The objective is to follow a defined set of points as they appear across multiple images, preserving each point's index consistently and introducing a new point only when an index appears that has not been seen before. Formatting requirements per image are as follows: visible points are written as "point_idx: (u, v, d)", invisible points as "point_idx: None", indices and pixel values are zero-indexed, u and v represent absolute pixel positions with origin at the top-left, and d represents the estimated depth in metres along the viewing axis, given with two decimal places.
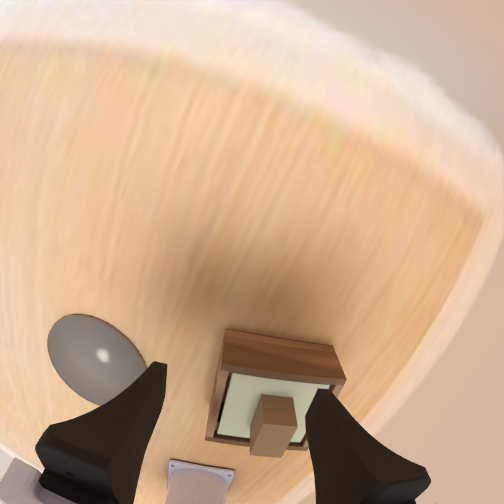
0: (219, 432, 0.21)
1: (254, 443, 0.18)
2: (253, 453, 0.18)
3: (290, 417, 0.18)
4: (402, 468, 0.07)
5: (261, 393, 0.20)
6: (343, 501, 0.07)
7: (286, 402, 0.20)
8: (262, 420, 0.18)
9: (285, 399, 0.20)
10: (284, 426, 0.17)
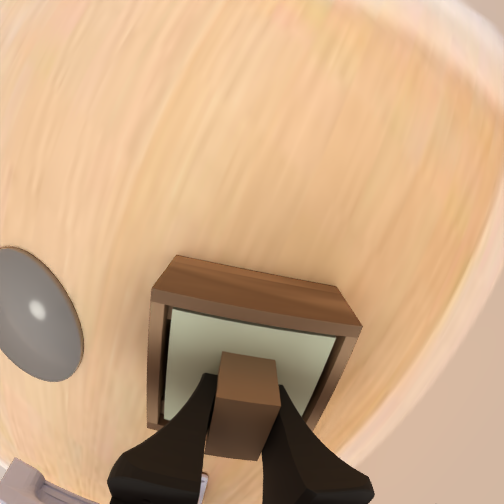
0: (166, 417, 0.14)
1: (208, 434, 0.11)
2: (210, 452, 0.11)
3: (268, 390, 0.11)
4: (340, 475, 0.07)
5: (222, 350, 0.13)
6: None
7: (263, 366, 0.12)
8: (217, 392, 0.10)
9: (262, 361, 0.13)
10: (255, 404, 0.10)
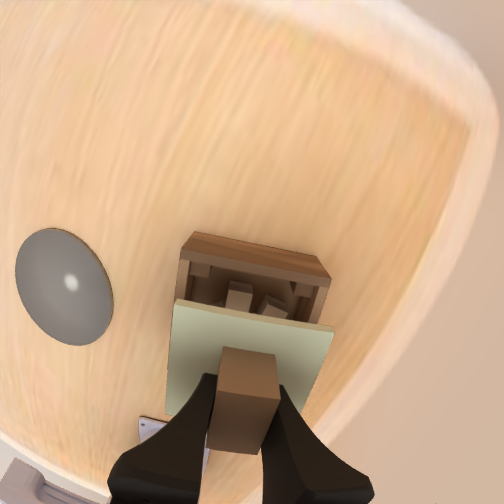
0: (167, 412, 0.14)
1: (209, 428, 0.11)
2: (210, 445, 0.11)
3: (268, 383, 0.11)
4: (340, 475, 0.07)
5: (223, 345, 0.13)
6: None
7: (263, 360, 0.13)
8: (218, 385, 0.11)
9: (262, 356, 0.13)
10: (255, 397, 0.10)
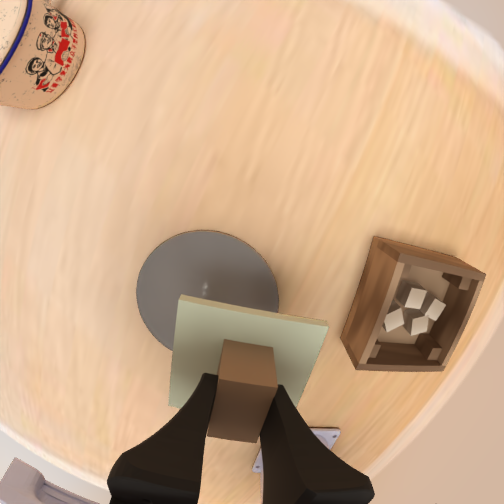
0: (171, 403, 0.15)
1: (211, 416, 0.12)
2: (212, 433, 0.12)
3: (266, 373, 0.12)
4: (340, 475, 0.07)
5: (224, 338, 0.14)
6: None
7: (262, 352, 0.14)
8: (219, 374, 0.12)
9: (260, 348, 0.14)
10: (254, 385, 0.11)
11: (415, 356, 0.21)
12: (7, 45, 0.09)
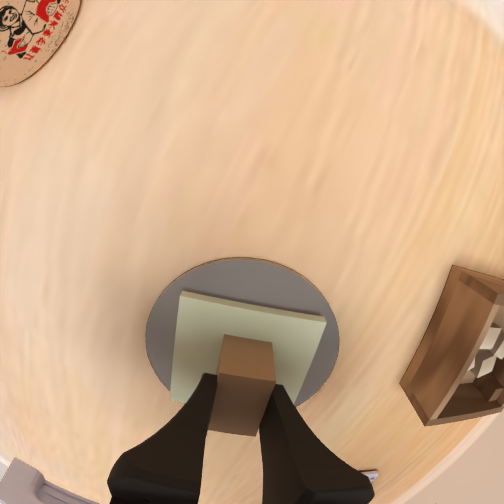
0: (172, 398, 0.16)
1: None
2: (212, 427, 0.13)
3: (265, 367, 0.12)
4: (340, 475, 0.07)
5: (224, 333, 0.14)
6: None
7: (261, 347, 0.14)
8: (219, 368, 0.12)
9: (260, 343, 0.14)
10: (253, 379, 0.12)
11: (477, 399, 0.15)
12: None
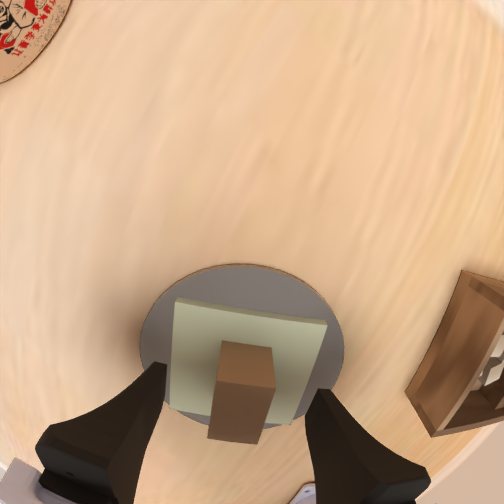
0: (171, 406, 0.15)
1: None
2: (212, 435, 0.12)
3: (264, 374, 0.12)
4: (402, 468, 0.07)
5: (222, 339, 0.14)
6: (343, 501, 0.07)
7: (260, 353, 0.13)
8: (217, 376, 0.11)
9: (259, 349, 0.14)
10: (252, 386, 0.11)
11: (483, 407, 0.14)
12: None
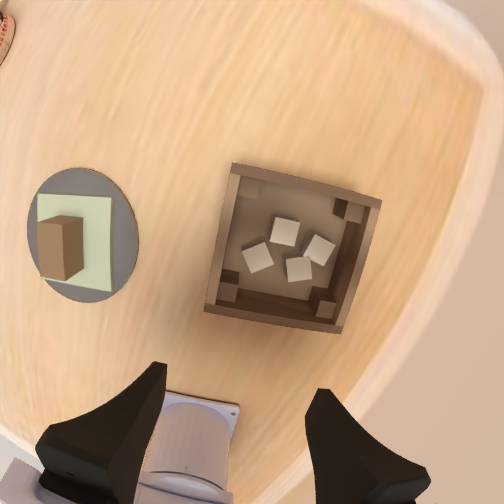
0: None
1: None
2: (42, 273, 0.18)
3: (63, 222, 0.18)
4: (402, 468, 0.07)
5: (58, 214, 0.20)
6: (343, 501, 0.07)
7: (73, 218, 0.19)
8: None
9: (74, 217, 0.19)
10: (51, 224, 0.17)
11: (298, 310, 0.20)
12: None
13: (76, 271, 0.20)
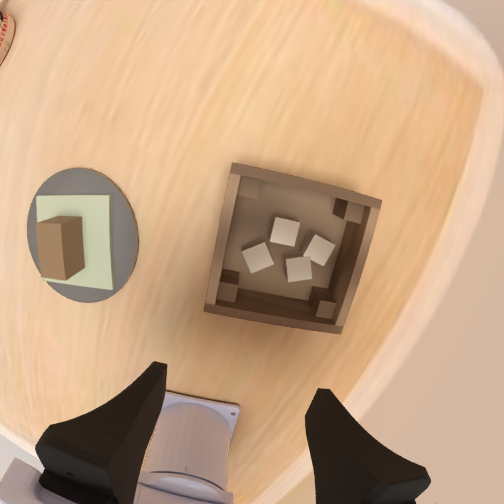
0: (43, 278, 0.21)
1: (40, 257, 0.18)
2: (43, 274, 0.18)
3: (62, 221, 0.18)
4: (402, 468, 0.07)
5: (58, 215, 0.20)
6: (343, 501, 0.07)
7: (72, 217, 0.19)
8: None
9: (73, 216, 0.19)
10: (50, 224, 0.17)
11: (298, 310, 0.20)
12: None
13: (77, 270, 0.20)
